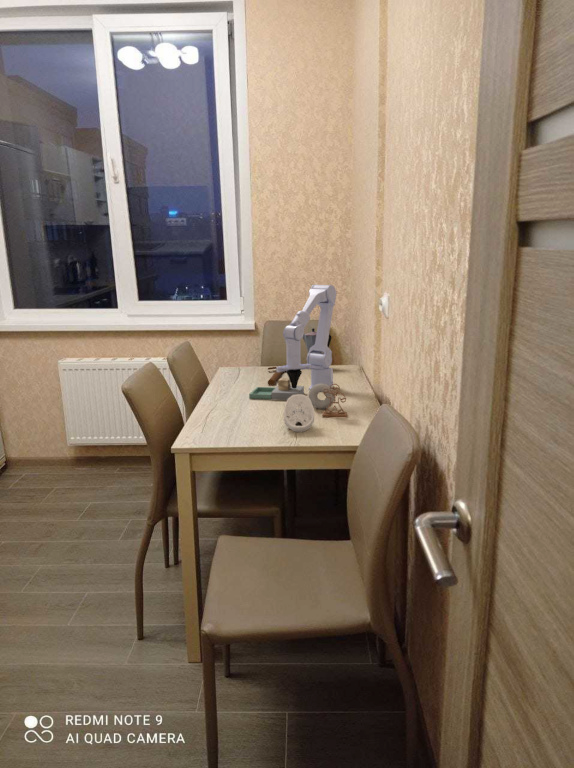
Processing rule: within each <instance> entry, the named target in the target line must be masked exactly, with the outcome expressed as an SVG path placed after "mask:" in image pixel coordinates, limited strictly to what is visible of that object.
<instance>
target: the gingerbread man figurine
mask: <svg viewBox="0 0 574 768" xmlns="http://www.w3.org/2000/svg"><path fill="white" fill-rule="evenodd" d="M332 385H333V387H332V388H331V386H332ZM332 385H331V386H330V389H333V390H332V391H333V392H334V394H333V392H332V391H331V390H330V392H331V393H330V392H329V390H328V389H324V390H328V391H327V392H326V391H325V392H324V391H323V392H322V393H323V395H324V397H325V398H326V397H327V396H326V395H325V393H329V394H332V396H334V402H331V397H327V398H330V405H331V403H333V404H332V405H334V404H337V405H338V406H339V408H340V409H339V410H338V408H337V407H336V405H334V406H333V407H332V409H329V408H330V407H331V406H332V405H331V406H330V405H329V406H330V407H329V406H328V408H326V410H325V411H323V412H322V414H321V417H322V416H323V417H322V418H329V417H347V418H348V412H346V411H344V410H343V408H342V406H341V404H340V402H341V403H346V400H347V397H346V396H345V395H344V393H342V392H340V390H341V389H340V385H339V384H337V383H333V384H332ZM334 385H335V386H336V387H334ZM338 395H341V396H343V398H341V397H339V396H338ZM337 396H338V397H337ZM336 397H337V401H336ZM334 409H335V410H336V411H333V410H334Z"/></svg>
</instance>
